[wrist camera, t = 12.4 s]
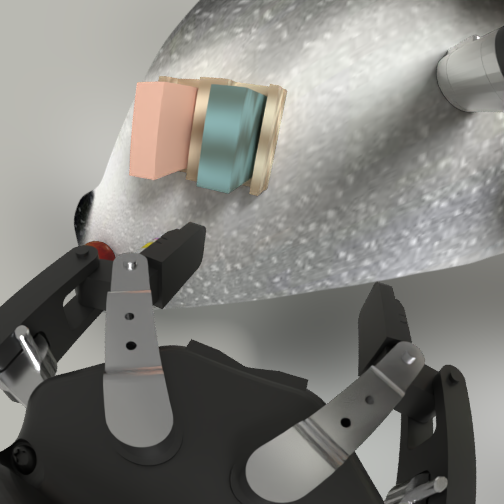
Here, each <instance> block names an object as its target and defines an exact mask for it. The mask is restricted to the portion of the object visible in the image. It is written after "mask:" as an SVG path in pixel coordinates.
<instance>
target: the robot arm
mask: <svg viewBox="0 0 504 504" xmlns="http://www.w3.org/2000/svg"><path fill="white" fill-rule="evenodd" d="M437 80H438V84H439V87H440V89H441V91H442V93H443V94H444V96H445V97H446V99H447V100H448V101H449V102H450V103H451V104H452V105H453V106H455V107H456V108H458V109H460V110H462V111H466V112H504V26H503V27H501V28H499V29H497V30H494V31H492V32H490V33H488V34H486V35H484V36H482V37H479V36H477V35H473V36H471V37H469V38H467V39H466V40H464V41H462V42H460V43H459V44H457V45H455V46H453V47H452V48H450V49H448V53H447V55H446V56H444V57H443V58H442V59H441V60H440V61H439V63H438V66H437ZM205 235H206V228H205V227H204V226H201V225H198V224H195V223H192V222H189V223H188V224H186V225H185V226H184V227H182V228H181V229H180V230H179V229H175V230H172V231H168V232H166V233H165V234H164V235H162V236H161V238H158V239H157V240H156V241H155V242H153V243H152V244H151V245H149V246H148V247H147V248H145V249H144V250H143V251H141V252H140V253H124V254H121V255H119V256H117V257H116V258H115V259H114V261H111V260H105V259H99V255H98V250H97V249H96V248H95V247H93V246H89V245H82V246H78V247H75V248H73V249H72V250H70V251H69V252H67V253H66V254H65V255H64V256H62V257H61V258H59V259H58V260H57V261H55V262H54V263H53V264H51V265H50V266H49V267H47V268H46V269H45V270H44V271H42V272H41V273H40V274H39V275H37V276H36V277H35V278H33V279H32V280H31V281H30V282H29V283H27V284H26V285H25V286H24V287H23V288H21V289H20V290H19V291H18V292H17V293H15V294H14V295H13V296H12V297H11V298H10V299H9V300H7V301H6V302H5V303H4V304H3V305H2V306H1V307H0V388H1V389H2V390H3V391H4V392H5V394H6V395H7V396H8V397H9V398H10V399H11V400H12V401H14V402H17V403H21V404H22V405H23V406H24V407H25V408H26V414H25V418H24V422H23V425H22V429H21V431H20V433H19V436H18V438H17V439H16V441H15V442H14V443H13V444H12V445H11V446H9V447H8V448H6V449H5V450H3V451H1V452H0V504H475V501H476V457H475V442H474V432H473V423H472V416H471V410H470V403H469V398H468V392H467V387H466V382H465V378H464V376H463V375H462V373H461V372H460V371H459V370H458V369H457V368H456V367H454V366H452V365H445V366H443V368H441V370H440V371H439V372H438V371H436V370H434V369H432V368H431V367H429V366H427V365H425V358H424V355H423V353H422V352H421V350H420V349H419V348H418V347H417V346H415V345H414V344H412V341H411V336H410V331H409V327H408V324H407V318H406V314H405V310H404V307H403V306H402V304H401V303H400V301H399V300H397V299H395V296H394V292H393V288H392V286H389V285H386V284H383V283H380V282H376V283H375V284H374V286H373V288H372V290H371V292H370V293H369V295H368V297H367V299H366V301H365V303H364V305H363V307H362V309H361V311H360V314H359V319H358V329H359V367H358V376H360V377H359V378H358V379H357V380H356V381H354V382H353V383H352V384H351V385H350V386H349V387H347V388H346V389H345V390H344V391H342V392H341V393H340V394H339V395H338V396H336V397H335V398H334V399H333V400H331V401H330V402H329V403H327V404H326V403H325V402H324V401H323V400H322V399H321V398H319V397H318V396H317V395H316V394H314V393H313V392H311V391H310V390H308V389H306V388H307V382H308V380H307V379H304V378H300V377H297V376H293V375H290V374H286V373H283V372H280V371H273V370H264V369H255V368H248V367H245V366H243V365H242V364H240V363H238V362H237V361H235V360H234V359H232V358H230V357H229V356H227V355H226V354H224V353H222V352H221V351H219V350H217V349H214V348H212V347H209V346H207V345H204V344H202V343H199V342H197V341H194V340H192V339H191V341H190V342H189V344H188V345H187V347H185V346H175V345H172V346H171V345H169V346H160V347H158V341H157V335H156V328H155V321H154V313H153V305H154V306H156V307H159V308H161V309H163V308H164V307H165V306H166V304H167V303H168V302H169V301H170V300H171V299H172V298H173V296H174V295H175V294H176V293H177V292H178V291H179V289H180V288H181V287H182V286H183V285H184V284H185V283H186V281H187V280H188V279H189V278H190V277H191V276H192V275H193V274H194V272H195V271H196V270H197V269H198V268H199V266H200V264H201V262H202V258H203V251H204V243H205ZM73 289H75V292H76V296H74V297H73V298H72V299H71V300H70V301H69V302H68V303H67V304H66V305H65V306H64V307H63V301H64V299H65V297H66V296H67V295H68V294H69V293H70V292H71V291H72V290H73ZM103 310H105V311H106V323H105V363H102V364H99V365H95V366H91V367H88V368H84V369H80V370H76V371H72V372H69V373H65V374H61V375H56V376H55V374H56V372H57V362H58V361H59V360H60V359H61V358H62V356H63V355H64V354H65V353H66V352H67V351H68V350H69V348H70V347H71V346H72V345H73V344H74V343H75V341H76V340H77V339H78V338H79V337H80V336H81V335H82V333H83V332H84V331H85V330H86V329H87V328H88V327H89V326H90V325H91V324H92V322H93V321H94V320H95V319H96V318H97V317H98V316H99V315H100V314H101V313H102V312H103ZM393 409H394V410H396V411H398V412H400V413H401V437H400V438H401V439H400V452H399V463H398V473H397V481H396V486H394V487H393V488H392V489H391V490H390V491H389V492H388V494H387V497H386V500H385V501H383V499H382V497H381V495H380V494H379V492H378V490H377V489H376V487H375V485H374V484H373V482H372V480H371V479H370V477H369V475H368V474H367V472H366V470H365V468H364V467H363V465H362V463H361V462H360V460H359V458H358V456H357V455H356V453H355V450H356V449H357V448H358V447H359V446H360V445H361V444H362V443H363V442H364V441H365V440H366V439H367V438H368V437H369V436H370V435H371V434H372V433H373V432H374V431H375V429H376V428H377V427H378V426H379V425H380V424H381V423H382V422H383V420H384V419H385V418H386V417H387V416H388V415H389V414H390V412H391V411H392V410H393ZM435 416H436V429H435V432H434V434H433V417H435Z"/></svg>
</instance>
